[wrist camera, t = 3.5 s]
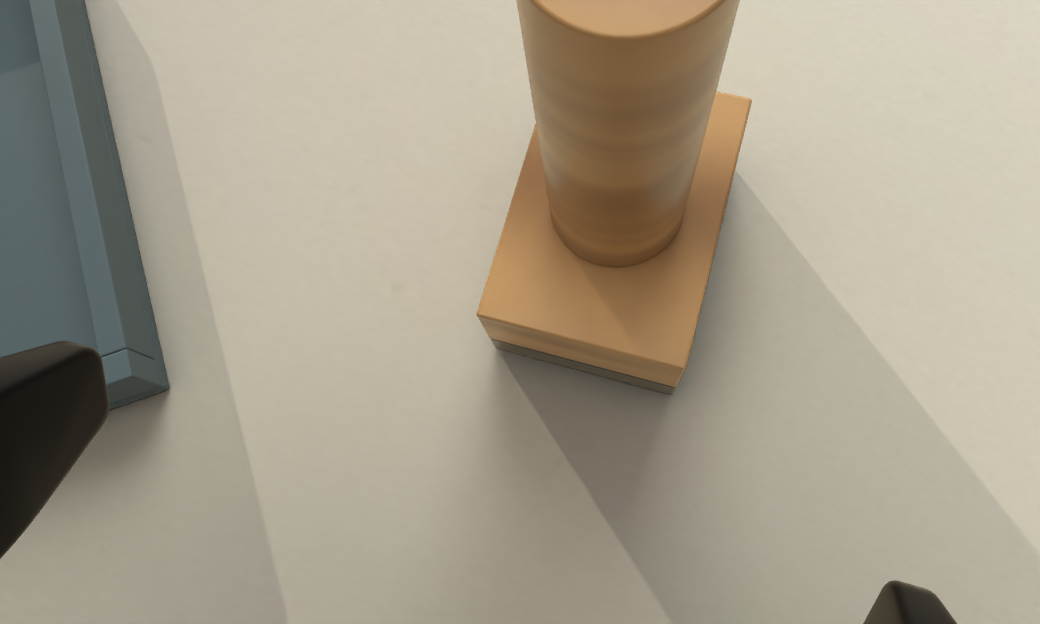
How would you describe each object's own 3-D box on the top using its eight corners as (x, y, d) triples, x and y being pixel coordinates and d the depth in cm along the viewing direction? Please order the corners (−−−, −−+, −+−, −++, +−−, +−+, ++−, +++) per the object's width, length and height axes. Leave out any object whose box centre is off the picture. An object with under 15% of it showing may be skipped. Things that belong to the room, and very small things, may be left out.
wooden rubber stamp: (672, 395, 22) (764, 218, 10) (494, 348, 23) (367, 127, 10) (730, 161, 24) (874, -253, 11) (561, 124, 25) (521, -301, 12)
